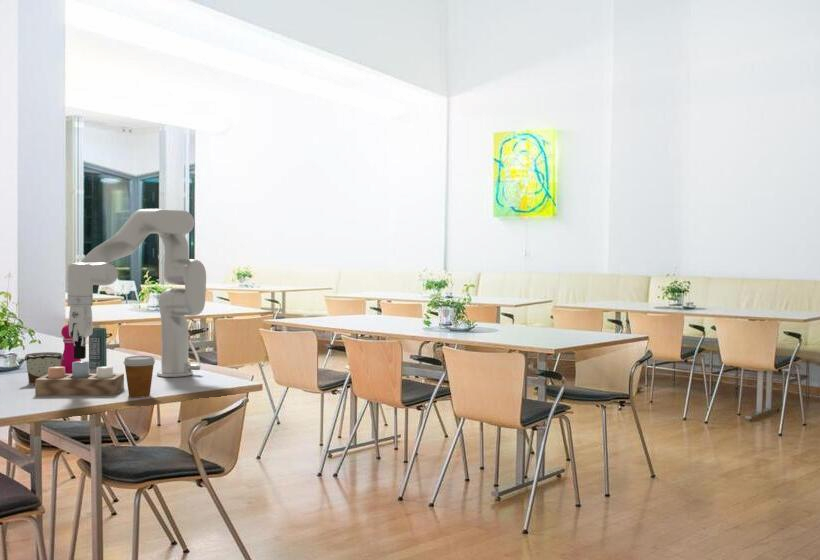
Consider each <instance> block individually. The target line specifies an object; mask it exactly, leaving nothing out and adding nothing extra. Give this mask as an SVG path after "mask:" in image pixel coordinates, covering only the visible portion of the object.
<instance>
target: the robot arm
mask: <svg viewBox="0 0 820 560" xmlns="http://www.w3.org/2000/svg"><path fill="white" fill-rule="evenodd" d="M194 227H195V219H194V217H193V215H192V214H191V213H190V212H189V211H187V210H177V209H164V208H145V209H144V208H142V209H137V210H135V211H134V212H133V213H132V214H131V215H130V216H129V217H128V219H127V220H126V221H125V222H124V223H123V225H122V226H121V227H120V228H119V230H118V231H117V232H116V233H115V234H114V235H113V236H112V237H110V238H108V239H107V240H105V241H103V242H102V243H100V244H99V245H97V246H95V247H94V248H92V249H91V250H90V251H89V252H88V253H87V254H86V255H85V256H84V257H83V258H82V260H81V261H80V262H71V263H70V264H69V265H68V266H67V307H69V312H68V313H69V315H68V321H69V336H70V337H73V342H74V359H81V360H85V359H86V357H87V356H86V355H87V354H86V353H87V352H86V351H87V349H86V348H87V347H86V346H87V338H89V336H90V335H92V333H93V328H94V327H93V311H92V307H93V306H94V305H93V303H94V293H93V292H94V289H93V288H94V286H110V285H112V284H114V283H115V282H116V281H117V279H118V277H119V270H118V269H117V267H116V266H115V265H113V264H112V263H111V262H113V261H115V260H116V261H117V260H118V259H121V258H125V257H128V256H129V255H132V254H134V253H135V252H136V250H138V248H139V247H140V246H141V245H142V243H143V242H144V241H145V240H146V239H147V237H148V236H149V235H151V234H157V235H158V236H159V238H160V239H161V240H162V243H163V246H164V249H163V250H164V255H163V256H164V257H163V259H164V263H163V277H164V281H165V282H166V283H168V284H170V285H174V286H184V288H168V289H165V290H163V291H162V292H161V293H160V295H159V296H158V303H157V304H158V309H159V315H160V321H161V322H160V323H161V325H160V326H161V331H160V332H161V333H160V335H161V336H160V337H161V339H160V340H161V341H160V343H161V348H160V349H161V353H160V354H161V361H160V363H161V365H160V366H161V370H159V371H157V372H156V375H157V377H161V378H181V377H188V376H191V375H193V373H194V372H193V371H201V364H192V363H191V361H189V324H188V320H187V318H186V316H188V317H190V316H193V317H194V316H198V315H200V314H201V313H202V312H203V311H204V309H205V305H206V298H207V297H206V295H207V293H206V292H207V291H206V290H207V271H206V268H205V266H204V264H203V263H202V262H201V261H200V260H198V259H193V258H189V255H190V254H189V252H190V251H189V242H188V240H187V237H186V236H185V235H187V234H190V232H191V231H193V229H194Z"/></svg>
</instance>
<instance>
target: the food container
mask: <svg viewBox="0 0 820 560" xmlns="http://www.w3.org/2000/svg"><path fill="white" fill-rule="evenodd" d="M62 359H63V352H56V351H54V352H53V351H49V352H48V351H47V352H46V351H45V352H44V351H43V352H32V353H27V354H25V356H24V360H23V362H26V370H27V379H28V385H35V379H38V378H40V377H42V376H45V375H47V374H48V368H49V367H61V361H62ZM63 360H64V359H63Z"/></svg>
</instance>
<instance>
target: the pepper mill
mask: <svg viewBox="0 0 820 560" xmlns="http://www.w3.org/2000/svg"><path fill="white" fill-rule="evenodd" d="M60 333H61V335H62V337H63V338H62V342H63V345H64V349H63V352H62V355H63V359H64V360H63V359H62V361H61V367H65V374H72V362H76V361H82V359H74V342H73V337H70V336H69V320H68V321H67V324H66V325H64V326H63V327H62V328H61V332H60Z"/></svg>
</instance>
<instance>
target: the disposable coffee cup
mask: <svg viewBox="0 0 820 560" xmlns="http://www.w3.org/2000/svg"><path fill="white" fill-rule="evenodd" d="M155 362H156V360H155V357H154V356H152V355H134V356H127V357H124V361H123V362H122V363H123V365H124V367H125V368H124V369H125V377H126V384H127V392H128V396H129V397H131V398H144V397H146V398H147V397H149V396H151V388H152V382H153V372H154V365H155Z"/></svg>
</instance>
